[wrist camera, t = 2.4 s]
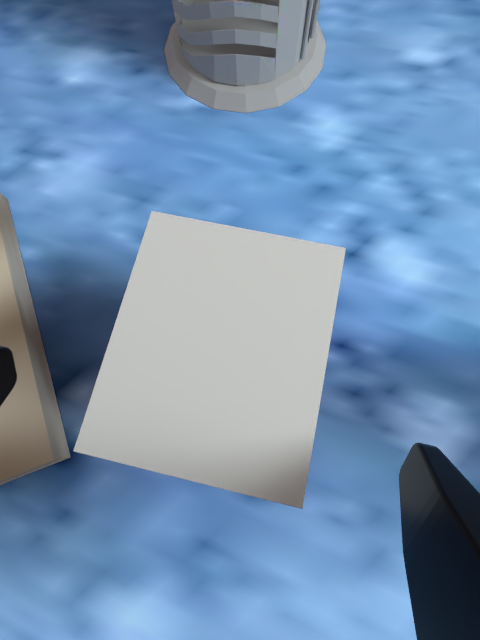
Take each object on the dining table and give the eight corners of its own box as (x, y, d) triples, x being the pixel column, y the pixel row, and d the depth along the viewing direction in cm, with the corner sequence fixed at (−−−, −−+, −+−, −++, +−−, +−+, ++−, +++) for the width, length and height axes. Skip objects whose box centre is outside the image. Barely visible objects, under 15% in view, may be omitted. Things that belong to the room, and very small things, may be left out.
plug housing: (274, 466, 16) (302, 508, 8) (164, 439, 17) (73, 451, 8) (299, 334, 18) (345, 248, 9) (197, 313, 18) (151, 211, 10)
